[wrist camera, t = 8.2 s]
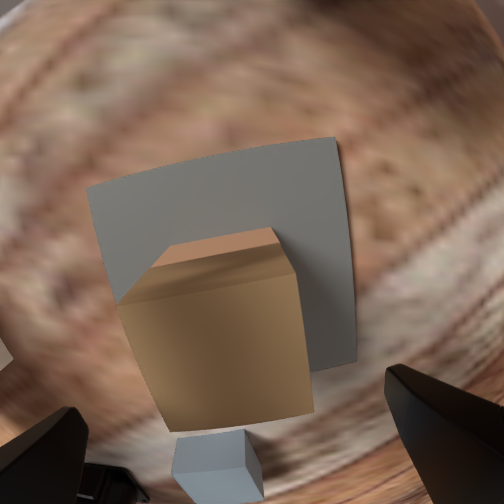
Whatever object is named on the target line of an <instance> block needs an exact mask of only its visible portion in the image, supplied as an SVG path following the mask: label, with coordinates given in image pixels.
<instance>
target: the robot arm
mask: <svg viewBox="0 0 504 504" xmlns="http://www.w3.org/2000/svg"><path fill="white" fill-rule="evenodd" d="M384 394H385V398H386V400H387V403H388V406H389V408H390V411H391V413H392V416H393V419H394V421H395V424H396V427H397V430H398V432H399V435H400V437H401V440H402V442H403V444H404V446H405V448H406V450H407V452H408V454H409V456H410V458H411V460H412V462H413V464H414V466H415V468H416V470H417V472H418V474H419V476H420V478H421V480H422V482H423V484H424V486H425V488H426V490H427V492H428V494H429V496H430V498H431V500H432V502H433V504H504V406H501V407H500V405H498V404H496V403H493V402H491V401H488V400H486V399H483V398H481V397H478V396H476V395H473V394H471V393H469V392H466V391H464V390H461V389H459V388H457V387H454V386H452V385H449V384H447V383H445V382H442V381H440V380H438V379H435V378H433V377H431V376H428V375H426V374H424V373H421V372H419V371H417V370H414V369H412V368H410V367H408V366H405V365H403V364H396V365H393V366H390V367H388V368H387V369H386V373H385V386H384ZM88 434H89V429H88V426H87V424H86V422H85V421H84V419H83V418H82V416H81V414H80V413H79V411H78V410H77V409H76V408H75V407H67V406H65V407H62V408H61V409H59V410H58V411H56V412H55V413H53V414H52V415H50V416H48V417H47V418H45V419H44V420H42V421H41V422H39V423H38V424H36V425H35V426H33V427H31V428H30V429H28V430H27V431H25V432H24V433H22V434H20V435H19V436H17V437H16V438H14V439H13V440H11V441H9V442H8V443H6V444H5V445H3V446H1V447H0V504H136V502H142V503H149V501H150V498H149V497H148V496H147V495H146V494H145V492H144V491H143V490H142V489H141V488H140V486H139V485H138V484H137V483H136V481H135V480H134V479H133V477H132V476H131V475H130V474H129V472H128V471H127V470H126V469H124V468H119V467H109V466H100V465H91V464H84V459H85V452H86V446H87V440H88Z"/></svg>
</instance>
